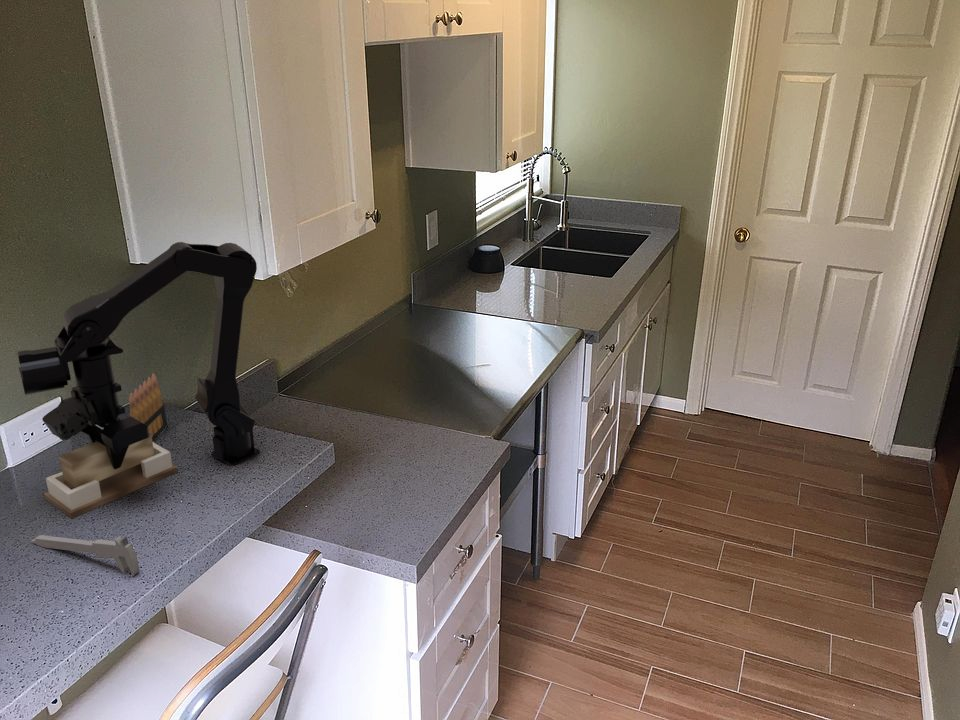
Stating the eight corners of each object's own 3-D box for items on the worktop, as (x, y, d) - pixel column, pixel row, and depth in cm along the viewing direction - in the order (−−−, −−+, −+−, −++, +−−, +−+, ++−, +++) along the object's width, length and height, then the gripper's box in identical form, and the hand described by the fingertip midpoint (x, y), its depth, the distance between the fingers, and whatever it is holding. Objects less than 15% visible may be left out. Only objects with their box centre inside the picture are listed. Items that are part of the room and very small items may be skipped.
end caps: (148, 453, 144) (146, 438, 142) (172, 466, 139) (170, 452, 138) (48, 493, 130) (45, 478, 129) (71, 510, 126) (68, 494, 125)
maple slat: (141, 450, 140) (138, 425, 138) (154, 457, 138) (150, 432, 136) (64, 482, 130) (58, 456, 128) (76, 490, 128) (71, 464, 126)
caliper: (140, 574, 114) (134, 538, 112) (134, 578, 113) (128, 542, 111) (36, 540, 121) (28, 506, 118) (29, 544, 120) (21, 509, 117)
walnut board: (150, 455, 145) (149, 450, 144) (177, 471, 140) (177, 467, 139) (44, 498, 131) (43, 493, 130) (71, 518, 126) (70, 513, 125)
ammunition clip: (142, 453, 145) (133, 395, 141) (133, 452, 145) (123, 394, 141) (168, 426, 155) (160, 371, 151) (158, 426, 155) (150, 370, 151)
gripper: (17, 380, 127) (36, 464, 133) (74, 414, 116) (92, 503, 122) (85, 360, 135) (99, 440, 141) (144, 390, 125) (157, 475, 131)
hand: (110, 463), depth 134 cm, fingers closed on maple slat, 4 cm apart
